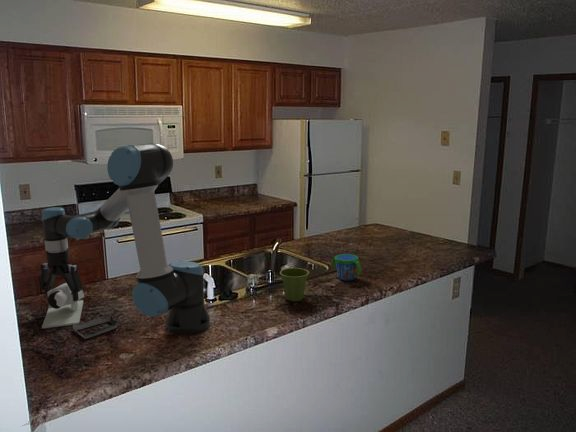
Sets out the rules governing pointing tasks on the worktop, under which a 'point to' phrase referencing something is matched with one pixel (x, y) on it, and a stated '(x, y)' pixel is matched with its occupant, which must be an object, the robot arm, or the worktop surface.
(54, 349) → the worktop surface
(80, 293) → the medicine bottle
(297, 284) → the plant pot
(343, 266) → the snack cup
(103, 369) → the worktop surface
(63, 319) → the rubber mat
